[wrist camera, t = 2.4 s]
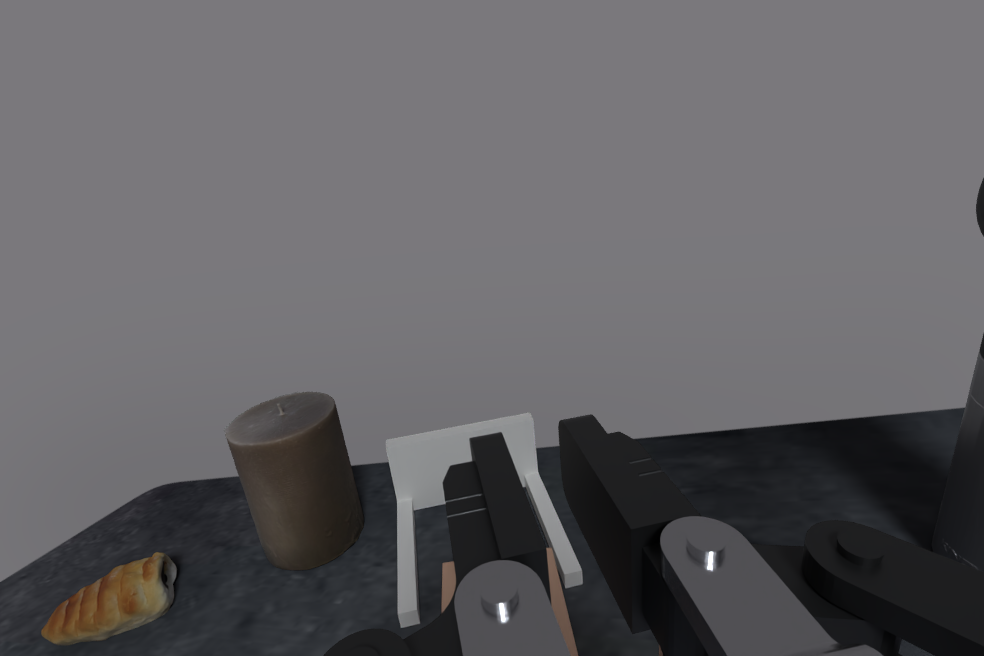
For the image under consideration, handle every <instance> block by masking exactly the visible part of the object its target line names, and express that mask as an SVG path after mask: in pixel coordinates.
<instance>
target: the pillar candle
mask: <svg viewBox="0 0 984 656" xmlns="http://www.w3.org/2000/svg"><path fill="white" fill-rule="evenodd" d="M224 432H226V438H227V441H228V444H229V447H230V450H231V453H232V456H233V459H234V462H235V466H236V469H237V471H238V474H239V477H240V480H241V483H242V486H243V489H244V492H245V495H246V498H247V501H248V505H249V508H250V511H251V514H252V518H253V520H254V523H255V525H256V529H257V533H258V536H259V539H260V542H261V545H262V547H263V549H264V552H265V554H266V557H267V559H268V560H269V562H270V563H271V564H272V565H274V566H275V567H277V568H280V569H285V570H307V569H312V568H314V567H315V568H316V567H318V566H321V565H323V564H326V563H328V562H329V561H332V560H333V559H335V558H337V557H338V556H340V555H341V554H343V553H344V552H345V551H346V550H347V549H348V548H349V547H351V546H352V545H353V544H354V543H355V542H356V541H357V539H358V537H359V535H360V533H361V531H362V529H363V526H364V516H363V511H362V508H361V504H360V500H359V496H358V491H357V488H356V484H355V480H354V476H353V472H352V468H351V464H350V461H349V456H348V453H347V449H346V445H345V441H344V436H343V433H342V429H341V425H340V420H339V417H338V413H337V408H336V405H335V401H334V399H333V398H332V397H331V396H329V395H327V394H324V393H317V392H302V393H293V394H289V395H283V396H279V397H277V398H274V399H272V400H269V401H266V402H263V403H260V404H259V405H256V406H254V407H252V408H250V409H249V410H247V411H245V412H244V413H243V414H241V415H239V416H238V417H236V418H235V419H234V420H233V421H232V422H231V424H229V426H227V427H226V428H225V430H224Z"/></svg>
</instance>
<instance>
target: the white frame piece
mask: <svg viewBox="0 0 984 656" xmlns="http://www.w3.org/2000/svg"><path fill="white" fill-rule="evenodd" d="M498 432H502V434H503V437H504V439H505V442H506V444H507V447H508V450H509V452H510V455H511V457H512V460H513V463H514V465H515V468H516V470H517V473H518V476H519V478H520V481H521V483H522V486H523V487H526V489H527V492H528V494H529V497H530V499H531V502H532V504H533V507H534V509H535V512H536V515H537V517H538V520H539V522H540V525H541V527H542V530H543V532H544V535H545V538H546V540H547V543H548V545H549V548H552V551H553V555H554V559H555V563H556V566H557V568H558V571H559V573H560V576H561V578H562V581H563V583H564V586H565V588H569V587H573V586H577V585H582V584H583V579H582V569H581V567H580V565H579V563H578V560H577V558H576V556H575V554H574V551H573V549H572V547H571V545H570V543H569V540H568V538H567V536H566V534H565V531H564V529H563V527H562V525H561V522H560V520H559V518H558V516H557V514H556V511H555V509H554V507H553V505H552V502H551V500H550V498H549V496H548V493H547V491H546V489H545V487H544V485H543V482H542V480H541V478H540V476H539V473H538V466H537V455H536V444H535V434H534V423H533V418H532V416H531V414H530V413H525V414H519V415H514V416H509V417H503V418H498V419H493V420H488V421H482V422H477V423H472V424H467V425H461V426H456V427H451V428H446V429H440V430H436V431H430V432H425V433H420V434H414V435H410V436H404V437H399V438H393V439H388V440H386V451H387V455H388V461H389V465H390V470H391V475H392V479H393V484H394V489H395V493H396V498H397V552H398V617H399V621H400V626H401V628H404V627H408V626H412V625H416V624H420V613H419V593H418V574H417V555H416V535H415V516H414V510H418V509H423V508H428V507H432V506H437V505H442V504H445V497H444V490H443V483H442V482H443V480H444V478H445V476H446V473H447V471H448V469H449V467H450V465H455V464H460V463H465V462H470V461H472V456H471V450H470V442H469V438H472V437H477V436H483V435H488V434H493V433H498Z"/></svg>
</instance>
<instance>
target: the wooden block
mask: <svg viewBox="0 0 984 656" xmlns="http://www.w3.org/2000/svg"><path fill="white" fill-rule="evenodd" d="M546 549H547V560H548V571H549V582H550V593H551V605H552V609H553V611H554V614H555V616H556V619H557V621H558V624H559V627H560V629H561V632H562V634H563V637H564V639H565V642H566V644H567V647H568V650H569V652H570V655H571V656H578V652H577V648H576V644H575V640H574V636H573V632H572V628H571V624H570V620H569V616H568V612H567V608H566V604H565V600H564V596H563V591H562V587H561V583H560V579H559V575H558V571H557V567H556V563H555V559H554V555H553V551H552V548H546ZM455 586H456V574H455V567H454V562H447V563H443V574H442V612H443V611H444V610H445V609H446V607H447V606H448V604H449V603H450V601H451V599H452V597H453V594H454V591H455Z"/></svg>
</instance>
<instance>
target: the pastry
mask: <svg viewBox="0 0 984 656" xmlns="http://www.w3.org/2000/svg"><path fill="white" fill-rule="evenodd" d="M176 574H177V568H176V566H175V564H174V563H173V562H172V560H171V559H170V558H169V557H168V556H167V555H166V554H164V553H158V552H157V553H155V554H154V555H153V556H152V557H149V558H145V559H142V560H137V561H133V562H131V563H129V564H126V565H120V566H118V567H116V568H114V569H113V570H112V571H111V572H110V573H109V574H108V575H106V576H105V577H103V578H101V579H99V580H98V581H96V582H95V583H94V584H92V585H89V586H86V587H84V588H82V589H81V590H80V591H79V592H78V593H77V594H75V595H73V596H72V597H70V598H69V599H68V600H66V601H65V602H63V603H62V604H60V605H59V606H58V607H57V608H56V610H55V611H54V613H53V614H52V615H51V617H50V619H49V621H48V623H47V624H46V625H45V626H44V627H43V629H42V632H41V633H42V636H43V637H44V638H46V639H48V640H49V641H51V642H52V643H54V644H57V645H71V644H74V643H77V642H88V641H101V640H105V639H107V638H109V637H110V636H113V635H117V634H120V633H122V632H125V631H127V630H130V629H134V628H136V627H139V626H141V625H144V624H146V623H148V622H151V621H153V620H155V619H156V618H158V617H160V616H162V615H164V614H165V613H166V612H167V611H168V610H169V609H170V608H169V607H170V605H171V604H172V603H173V599H174V587H173V582H174V580H175V578H176Z"/></svg>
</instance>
